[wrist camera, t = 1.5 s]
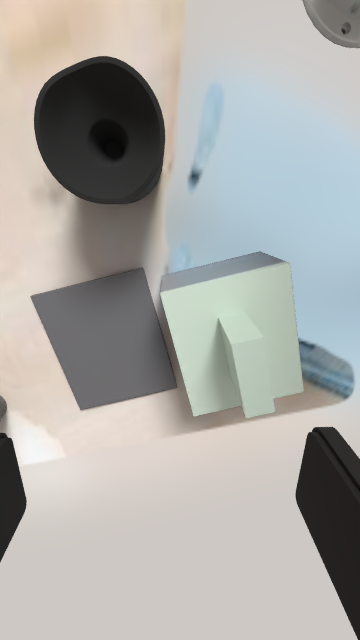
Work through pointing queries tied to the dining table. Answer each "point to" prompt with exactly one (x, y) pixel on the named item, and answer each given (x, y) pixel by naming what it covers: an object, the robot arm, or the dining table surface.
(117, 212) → the dining table surface
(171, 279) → the tub
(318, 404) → the dining table surface
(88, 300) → the dark grey flat plate
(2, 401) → the beverage cup
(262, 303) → the green slab
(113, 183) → the pen holder
